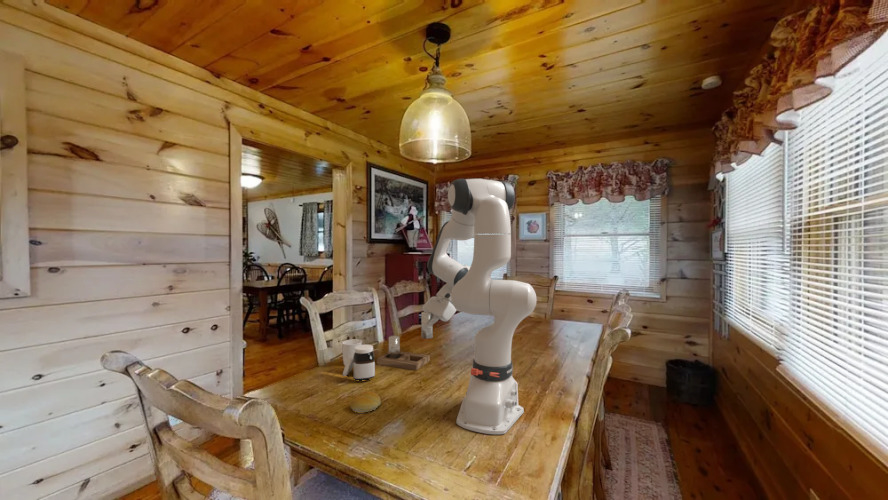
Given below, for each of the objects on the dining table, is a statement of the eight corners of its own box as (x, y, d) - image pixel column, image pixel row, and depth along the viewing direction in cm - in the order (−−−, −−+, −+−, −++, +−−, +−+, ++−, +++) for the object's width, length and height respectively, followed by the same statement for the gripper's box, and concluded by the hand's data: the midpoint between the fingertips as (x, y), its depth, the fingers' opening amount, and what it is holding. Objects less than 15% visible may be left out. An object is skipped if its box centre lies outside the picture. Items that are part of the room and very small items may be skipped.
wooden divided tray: (416, 373, 130) (416, 364, 130) (376, 367, 137) (376, 358, 137) (429, 363, 141) (429, 355, 141) (392, 357, 148) (392, 350, 148)
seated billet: (396, 363, 138) (396, 339, 138) (386, 361, 140) (386, 337, 140) (401, 359, 142) (401, 336, 142) (392, 358, 144) (392, 335, 144)
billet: (429, 339, 135) (429, 314, 135) (419, 337, 137) (419, 313, 137) (434, 336, 139) (434, 312, 139) (424, 335, 141) (424, 311, 141)
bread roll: (345, 411, 101) (345, 398, 101) (363, 399, 109) (363, 386, 109) (368, 417, 98) (368, 403, 98) (385, 403, 106) (385, 391, 106)
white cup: (342, 364, 141) (341, 340, 141) (361, 362, 143) (361, 338, 143) (342, 370, 133) (342, 345, 133) (362, 368, 136) (362, 343, 136)
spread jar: (376, 381, 123) (376, 349, 123) (344, 386, 119) (344, 353, 118) (371, 370, 134) (371, 341, 134) (341, 374, 130) (341, 344, 130)
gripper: (431, 290, 150) (411, 314, 146) (453, 296, 132) (430, 324, 127) (440, 299, 152) (420, 323, 148) (463, 306, 134) (441, 334, 130)
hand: (425, 323), depth 137 cm, fingers closed on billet, 4 cm apart
